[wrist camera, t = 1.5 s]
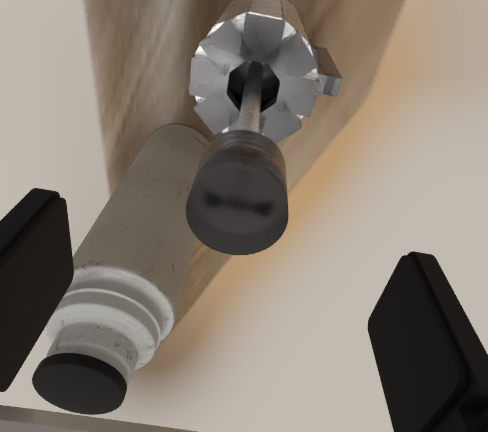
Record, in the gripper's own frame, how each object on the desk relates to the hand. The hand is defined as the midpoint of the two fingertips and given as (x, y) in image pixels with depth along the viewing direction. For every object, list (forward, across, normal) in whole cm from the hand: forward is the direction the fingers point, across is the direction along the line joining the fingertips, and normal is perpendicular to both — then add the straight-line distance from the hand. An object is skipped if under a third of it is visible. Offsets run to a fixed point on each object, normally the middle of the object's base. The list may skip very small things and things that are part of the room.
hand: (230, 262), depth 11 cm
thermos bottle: (+31, +6, +13) cm, 34 cm away
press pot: (+31, 0, -1) cm, 31 cm away
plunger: (+20, 0, -1) cm, 20 cm away
